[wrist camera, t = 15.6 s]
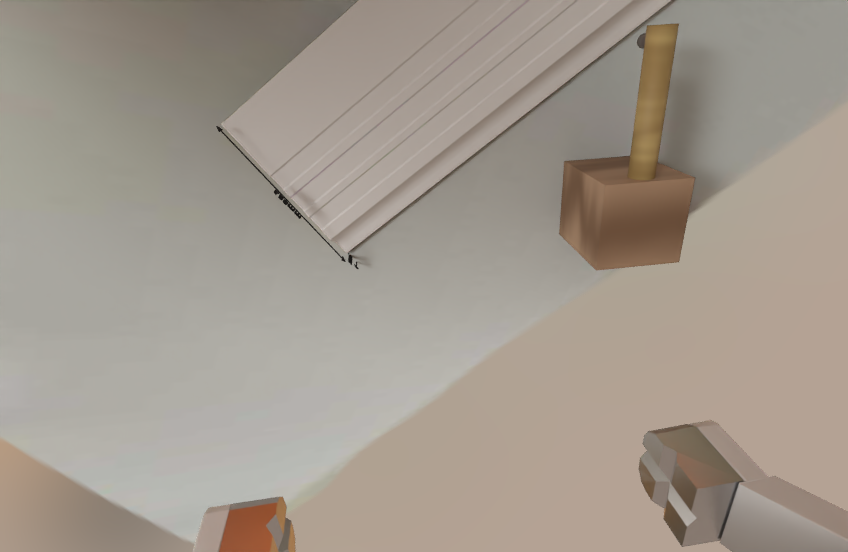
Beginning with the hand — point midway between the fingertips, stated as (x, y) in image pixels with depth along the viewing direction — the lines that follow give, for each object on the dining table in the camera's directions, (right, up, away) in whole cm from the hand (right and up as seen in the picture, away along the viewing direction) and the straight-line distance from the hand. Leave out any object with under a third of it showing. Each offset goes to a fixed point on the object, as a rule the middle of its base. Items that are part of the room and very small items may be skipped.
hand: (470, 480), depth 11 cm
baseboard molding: (+3, +19, +17) cm, 26 cm away
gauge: (+10, +13, +20) cm, 26 cm away
